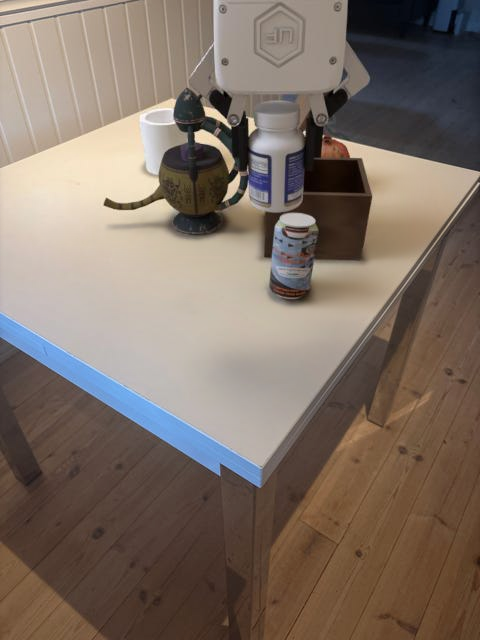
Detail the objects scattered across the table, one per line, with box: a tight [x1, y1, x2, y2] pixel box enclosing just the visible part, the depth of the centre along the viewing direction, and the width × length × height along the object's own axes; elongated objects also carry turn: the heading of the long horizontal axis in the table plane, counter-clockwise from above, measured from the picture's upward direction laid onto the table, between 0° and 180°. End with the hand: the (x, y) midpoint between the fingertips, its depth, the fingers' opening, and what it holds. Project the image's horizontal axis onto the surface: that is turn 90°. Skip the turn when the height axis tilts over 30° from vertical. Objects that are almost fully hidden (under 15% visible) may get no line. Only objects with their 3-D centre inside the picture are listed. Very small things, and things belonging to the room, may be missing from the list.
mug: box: [138, 107, 188, 176], centre depth 106 cm, size 14×10×11 cm
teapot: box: [103, 87, 249, 237], centre depth 81 cm, size 12×25×23 cm, turn 95°
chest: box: [263, 157, 373, 261], centre depth 81 cm, size 16×14×11 cm
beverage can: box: [268, 213, 318, 300], centre depth 70 cm, size 6×7×12 cm
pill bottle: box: [247, 100, 306, 213], centre depth 45 cm, size 5×5×9 cm
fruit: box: [321, 133, 351, 158], centre depth 97 cm, size 11×10×10 cm
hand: (276, 162), depth 45 cm, fingers closed on pill bottle, 5 cm apart
